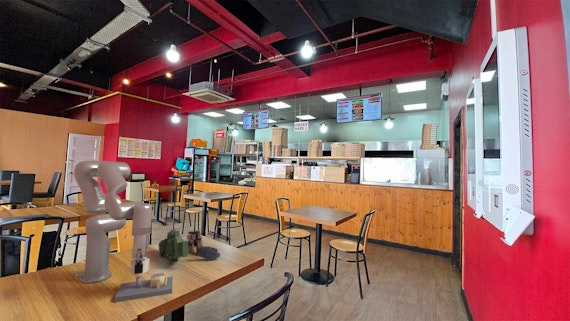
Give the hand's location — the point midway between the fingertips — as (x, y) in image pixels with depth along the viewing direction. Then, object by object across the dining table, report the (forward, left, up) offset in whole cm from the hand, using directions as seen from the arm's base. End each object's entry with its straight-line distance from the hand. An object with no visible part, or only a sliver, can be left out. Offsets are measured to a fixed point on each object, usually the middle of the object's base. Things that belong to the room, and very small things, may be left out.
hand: (139, 269), depth 111 cm
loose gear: (0, 0, -1) cm, 1 cm away
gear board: (+3, 0, -10) cm, 11 cm away
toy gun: (+28, +50, -11) cm, 59 cm away
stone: (+34, +27, -10) cm, 45 cm away
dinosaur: (+15, +33, -10) cm, 38 cm away
